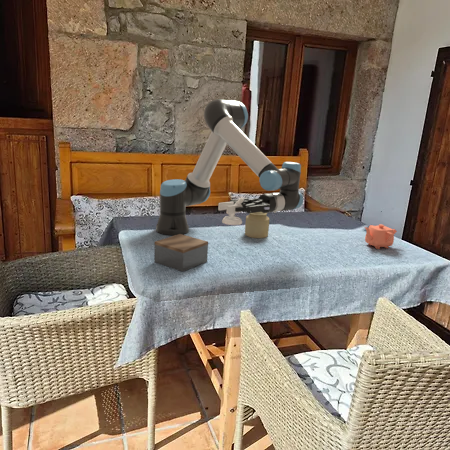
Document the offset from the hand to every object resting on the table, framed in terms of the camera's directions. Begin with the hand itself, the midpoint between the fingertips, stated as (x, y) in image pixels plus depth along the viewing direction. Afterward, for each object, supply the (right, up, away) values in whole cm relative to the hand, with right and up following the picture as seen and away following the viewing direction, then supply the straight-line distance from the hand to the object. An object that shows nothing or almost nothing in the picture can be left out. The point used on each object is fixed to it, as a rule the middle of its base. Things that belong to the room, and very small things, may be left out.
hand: (223, 208), depth 153 cm
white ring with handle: (+3, -5, +5) cm, 8 cm away
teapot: (+70, -16, +37) cm, 81 cm away
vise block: (-16, -20, +5) cm, 26 cm away
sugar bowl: (+14, -10, +46) cm, 50 cm away
